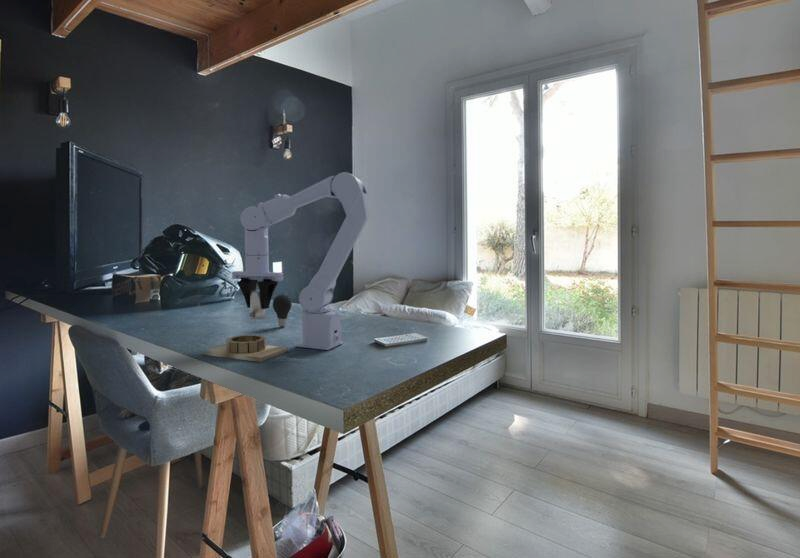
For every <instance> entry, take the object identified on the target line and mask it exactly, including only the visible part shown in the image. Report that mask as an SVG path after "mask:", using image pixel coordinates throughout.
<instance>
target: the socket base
mask: <svg viewBox="0 0 800 558" xmlns="http://www.w3.org/2000/svg"><path fill="white" fill-rule="evenodd" d="M266 340H267V339H266V336H264V335H260V334H242V335H241V334H240V335H236V336H230V337H228V338H227V339H226V343H225V344H221V345H218V346H215V347H211V348H208V349H204V350H203V351H204V355H205V356H211V357H219V358H220V357H221V358H229V359H235V360H241V361H249V362H257V363H258V362H259V363H262V362H265V361H267V360H270V359H271V358H275V357H277V356H280V355H282V354H285V353H288V347H286V346H285V347H284V346H278V345H276V346H275V345H268V344H267V343H266V342H267V341H266Z"/></svg>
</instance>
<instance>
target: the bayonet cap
mask: <svg viewBox="0 0 800 558" xmlns="http://www.w3.org/2000/svg"><path fill="white" fill-rule="evenodd" d="M249 319H251V320H265V319H267V309H262V307H261V295H260V290H259V289H256V290H253V291H250V308H249Z"/></svg>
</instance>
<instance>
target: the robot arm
mask: <svg viewBox="0 0 800 558" xmlns="http://www.w3.org/2000/svg"><path fill="white" fill-rule="evenodd" d="M273 197H274V198H271V199H268V200H267V201H265V202H259V203H257V207H256V206H252V205H251V206H247V207H246V208H245V209H244V210H242V212H241V214H240V218H239V219H240V223H241V225H242V227H244V258H245V259H244V261H245V270H235V271H234V270H233V271H232V273H231V274H232V276H231V279H232V280H238V281H237V282H236V284H237V285H238V287H239V288H240V290H241V292H242V295H243V297H244V301H245V303H246V306H247V307H246V308H248V309H250V291H253V290H257V286H258V290H260V295H261V307H262V309H266V310H267V309H269V308H270V305H271V300H272V297H273V294H274V292H275V289H276V288H277V285H278V283H279V282H282V281H284V272H275V271H273V272H272V271H270V259H269V256H270V255H269V254H270V253H269V250H270V249H269V228H271V226H272V225H275V224H277V223H280V222H281V221H284V220H286V219H289V218H290V217H293V216H294V215H295V214H296V211H297V209H298V208H301V207H303V206H306V205H309V204H311V203H313V202H316V201H318V200H322V199H323V198H332V199H338V200H339V203H341V206H342V208H343V211H344V213H345V218H344V220H343V222H342V224H341V226H340V228H339V230H338V232H337V234H336V236H335V238H334V239H333V242H332V243H331V245H330V247H329V250H328V251H327V254H326V255H325V258H324V259H323V262H322V263H321V265H320V267H319V269H318V271H317V272H316V274H315V275H314V276H313V277H312V278H311V279H310V282H309V284H308V285H307V286H306V287H304V288H302V290H301V291H300V293H299V295H298V301H299V304H300V306H301V308H302V310H301V313H302V315H301V318H302V320H301V321H302V322H301V323H302V325H301V326H302V328H301V329H302V331H301V332H302V342H299V343H296V344H295V347H297V348H307V349H308V348H309V349H313V350H314V349H315V350H324V351H328V350H331V349H333V348H336V347H338V346H339V345H342V344H343V343H344V342H343V341H342V319H341V318H342V317H341V315H340V314H339V312H334V311H332V307H331V305H330V303H331V302H332V301H333V298H334V289H335V287H336V285H337V279H338V277H339V275H340V273H341V271H342V269H343V267H344V266H345V263H346V262H347V260H348V258H349V256H350V254H351V252H352V250H353V247H354V246H355V245H356V242H357V241H358V238H359V237H360V234H361V233H362V231H363V229H364V226H365V225H366V223H367V222H368V219H369V208H368V191H367V188H366V186H365V185H364V182H363V181H362V180H361V179H360V178H358V177H356V176H355V175H353V174H352V173H350V172H348V171H345V172H344V171H343V172H339V173H337V175H330V176H328V177H327V178H324V179H323V180H321V181H318V182H316V183H314V184H313V185H310V186H309V187H307V188H304V189H303V190H300V191H299V192H297V193H295V194H292V195H291V196H290V195H288V194H284V193H283V194H280V193H277V194H274V195H273Z"/></svg>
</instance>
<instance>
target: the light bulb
mask: <svg viewBox="0 0 800 558" xmlns="http://www.w3.org/2000/svg"><path fill="white" fill-rule="evenodd" d="M272 308H273V310H274V312H275V313H276V318H277V323H278V326H280V328H285V327H286V326H287V323H288V322H287V320H288V319H287V318H288V316H289V315H288V314H289V312H290V311H291V309H292V300H291V298H290V297H289V296H287V295H286V294H279V295H277V296H275V297H274V299H273V300H272Z"/></svg>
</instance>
